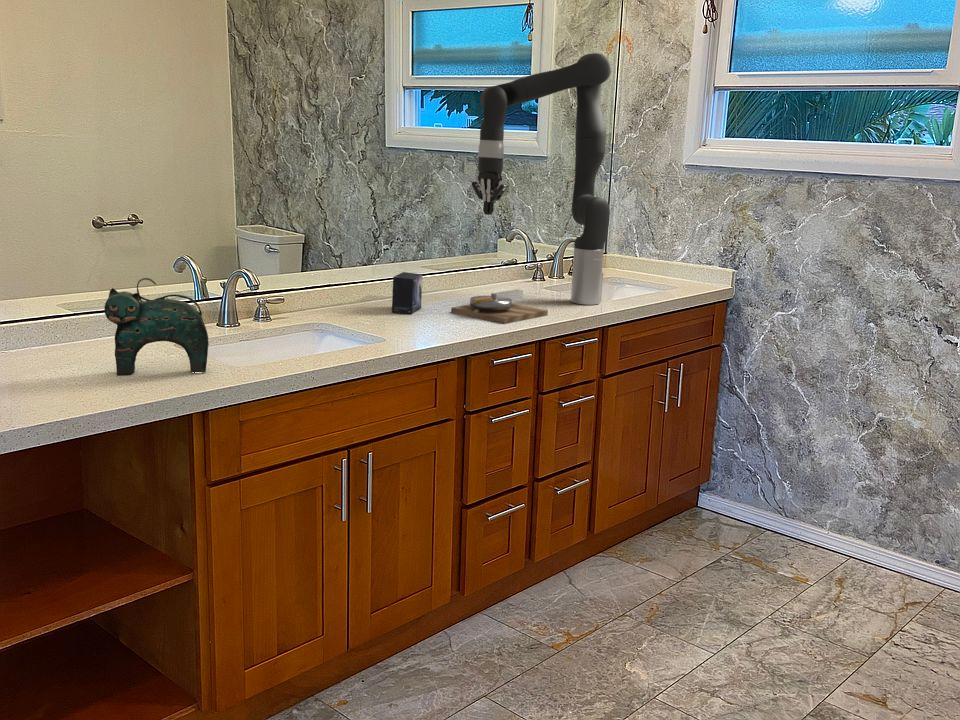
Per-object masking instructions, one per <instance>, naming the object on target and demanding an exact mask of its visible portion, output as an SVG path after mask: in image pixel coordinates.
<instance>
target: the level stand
mask: <svg viewBox="0 0 960 720" xmlns="http://www.w3.org/2000/svg"><path fill="white" fill-rule="evenodd" d="M450 313H451V314H456V315H461V316H465V317H471V318H475V319H480V320H485V321H490V322H493V323H494V322H495V323H500V324H504V325H506V324H511V323H515V322H520V321H525V320H530V319H535V318H540V317H546V316H548V315H549V310H548V309H545V308H544V309H543V308H538V307H534V306H533V307H532V306H528V305H523V304H517V303H514V302H512V307H511V308H510V309H506V310H484V309H478V308H473V307H471V306H470V304H465V305H463V304H462V305H459V306H458V305H457V306H453V307H451V309H450Z"/></svg>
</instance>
